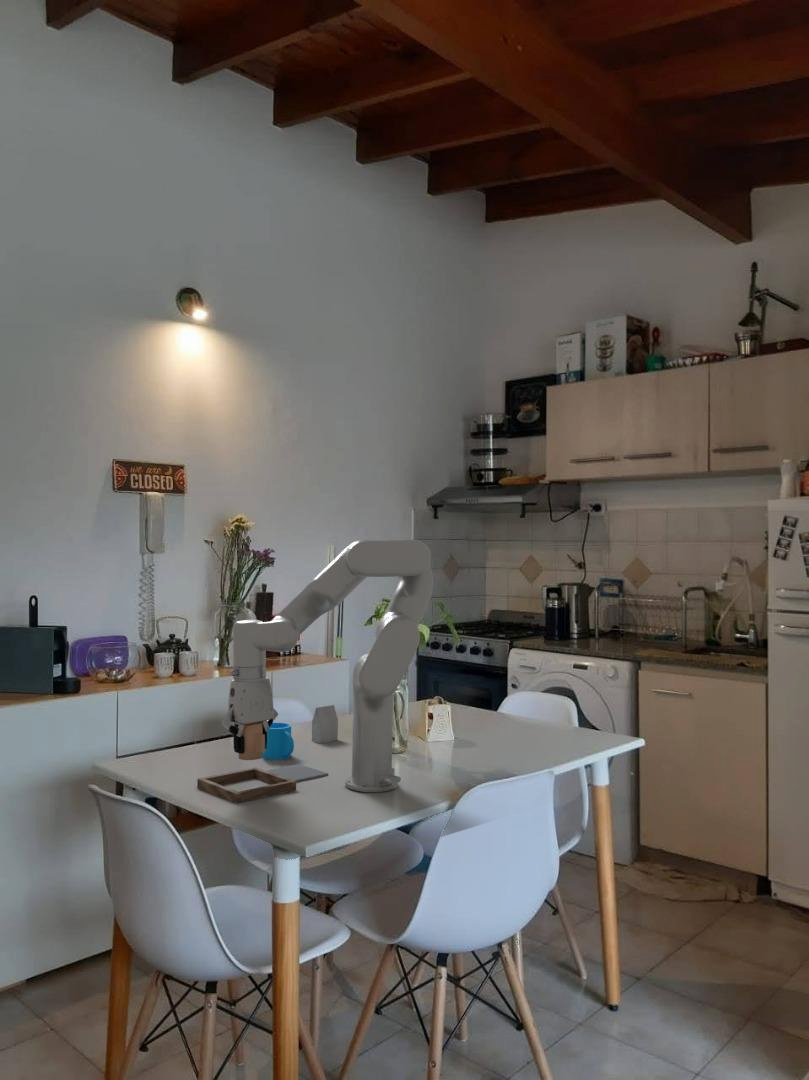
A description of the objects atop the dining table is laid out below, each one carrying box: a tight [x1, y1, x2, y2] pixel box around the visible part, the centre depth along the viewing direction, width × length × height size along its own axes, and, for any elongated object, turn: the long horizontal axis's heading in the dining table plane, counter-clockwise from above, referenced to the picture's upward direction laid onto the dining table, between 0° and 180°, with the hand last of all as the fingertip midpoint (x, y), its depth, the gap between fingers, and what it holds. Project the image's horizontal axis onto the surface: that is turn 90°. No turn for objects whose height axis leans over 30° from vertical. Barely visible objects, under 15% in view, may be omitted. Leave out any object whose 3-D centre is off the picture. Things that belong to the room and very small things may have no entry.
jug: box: [238, 722, 265, 761], centre depth 208 cm, size 8×6×8 cm
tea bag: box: [311, 704, 339, 744], centre depth 261 cm, size 4×7×10 cm, turn 136°
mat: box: [265, 763, 329, 783], centre depth 222 cm, size 12×12×1 cm
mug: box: [261, 722, 295, 760], centre depth 240 cm, size 12×8×8 cm
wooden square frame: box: [196, 767, 297, 804], centre depth 209 cm, size 16×16×2 cm
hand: (250, 749), depth 209 cm, fingers closed on jug, 5 cm apart
